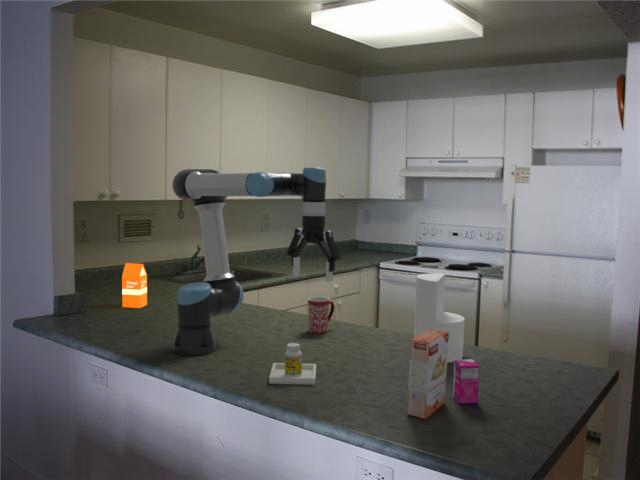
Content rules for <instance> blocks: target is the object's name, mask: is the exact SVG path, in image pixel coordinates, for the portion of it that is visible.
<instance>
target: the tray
mask: <svg viewBox="0 0 640 480" xmlns="http://www.w3.org/2000/svg"><path fill="white" fill-rule="evenodd" d="M270 370H271V371H270V373H269V377H268V384H270V385H274V384H275V385H303V386H304V385H305V386H309V385H310V386H316V379H317V364H316V363H302V374H301V375H300V376H298V377H289V376H286V375H285V362H273V363H272V366H271V369H270Z"/></svg>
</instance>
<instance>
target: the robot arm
mask: <svg viewBox="0 0 640 480" xmlns="http://www.w3.org/2000/svg"><path fill="white" fill-rule="evenodd" d="M171 188H172V190H173V192H174V194H175V196H176V197H178V198H179V199H180V200H181V201H185V202H193V208H194V209H195V210H197V212H198V216H199V224H200V231H201V238H202V246H203V254H204V255H203V256H204V263H205V270H206V276H205V277H204V279H203V281H197V282H190V283H187V284H183V285H182V286H180V288H179V289H178V291H177V298H176V302H177V303H176V304H177V305H176V306H177V330H176V332H175V336H174V340H173V343H172V352H174V353H175V354H177V355H181V356H201V355H207V354H211V353H214V352H215V351H216V349H217V342H216V339H215V335H214V333H213V330H212V318H213V317H217V316H221V315H226V314H230V313H232V312H235V311H237V310H238V309H239V308H240V306H241V305H242V303H243V300H244V290H243V287H242V285H241V284H240V282H238V281H237V280H236V276H235V275H234V274H232V272H231V270H230V269H231V268H230V261H229V254H228V246H227V237H226V231H225V222H224V216H223V214H224V213H223V208H224V207H225V205H226V199H227V198H228V197H258V198H263V197H287V196H289V197H290V196H291V197H293V196H294V197H302V208H301V209H302V210H301V211H302V212H301V213H302V214H303V215H302V220H301V223H302V224H301V225H302V227H298V228H297V227H296V228H295V229H294V235H293V237H292V240H291V242H290V244H289V247H288V249H287V250H286V254H287V255H288V256H290V257H291V267H292V270H293V271H292V277H293V278H296V277H300V274H301V257H300V254H301V252H302V251H303V250H304V249H305V247H306V246H307V245H308V244H314V245H315V244H316V245H317V246H319V247H320V250H321V251H322V253H323V255H324V256H325V257H326V259H327V261H326V263H325V265H326V267H325V282H326V283H329V282H333V280H334V278H333V276H334V275H333V273H334V272H335V270H336V268H335V267H336V266H335V265H336V262H337V261H339V260H341V255H340V253H339V250H338V247H337V244H336V242H335V240H334V234H333V230H326V231H325V226H326V216H325V214H326V189H327V174H326V169H325V168H323V167H304V168H303V169H302V173H301V172H300V173H295V172H264V171H263V172H262V171H261V172H260V171H259V172H241V173H238V172H237V173H235V172H234V173H233V172H231V173H229V172H228V173H223V172H222V171H220V170H217V169H211V168H210V169H206V168H204V169H203V168H201V169H199V168H198V169H197V168H195V169H194V168H187V169H182V170H181V171H179V172H177V174H175V176H174V177H173V180H172V187H171ZM302 236H303V237H302Z"/></svg>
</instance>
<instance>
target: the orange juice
mask: <svg viewBox="0 0 640 480" xmlns="http://www.w3.org/2000/svg"><path fill="white" fill-rule="evenodd" d="M121 288H122V290H121V295H122V299H121V300H122V305H121V306H122V308H134V309H141V308H143V307H145V306H147V305H148V275H147V271H146V269H145V266H144V263H128V262H126V263H125V264H124V268H123V271H122V275H121Z"/></svg>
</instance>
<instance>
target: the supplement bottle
mask: <svg viewBox="0 0 640 480" xmlns="http://www.w3.org/2000/svg"><path fill="white" fill-rule="evenodd" d="M286 349H287V350H286V351H285V353H284V363H285V375H286V376H289V377H298V376H300V375H301V374H302V364H303V353H302V351H301V350H300V349H301V345H300V343H295V342H290V343H288V344H287V345H286Z"/></svg>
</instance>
